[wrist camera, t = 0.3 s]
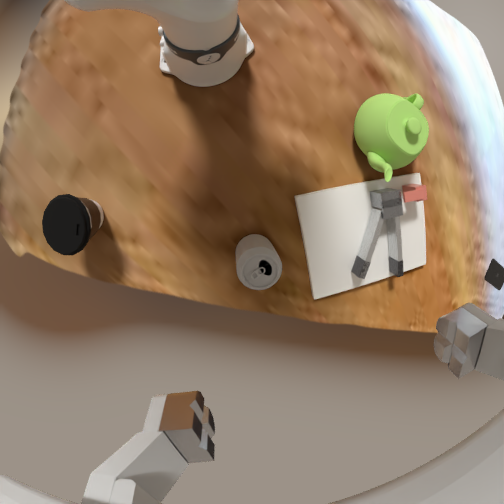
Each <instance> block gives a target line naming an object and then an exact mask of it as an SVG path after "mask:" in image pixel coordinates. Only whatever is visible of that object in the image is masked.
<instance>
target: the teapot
mask: <svg viewBox="0 0 504 504" xmlns="http://www.w3.org/2000/svg"><path fill="white" fill-rule="evenodd" d="M423 103H424V101H423V98H422V97H421V96H420V95H419V94H413V95H411V96H409V97H403V98H402V97H400V96H397V95H394V94H378V95H375V96H373V97H371V98H369V99H367V100H366V101H365V102H364V103H363V104H362V106H361V107H360V109H359V110H358V112H357V115H356V118H355V122H354V136H355V140H356V142H357V145H358V146H359V148H360V149H361V150H362V152H363V153H364V154H365V155H366V156H367V158H368V162H369V164H370V165H371V167H372V168H373V169H375V170H377V171H379V172H384V177H385V181H386V182H389V181H390V180H391V178H392V173H393V170H392V169H399V168H402V167H404V166H406V165H408V164H410V163H411V162H412V161H413V160H414V159H415V158H416V157H417V156H418V155H419V154H420V152H421V151H422V150H423V148H424V146H425V144H426V142H427V138H428V133H429V127H428V122H427V120H426V118H425V116H424V115H423V114H422V112H421V111H420V109H421V108H422V106H423Z"/></svg>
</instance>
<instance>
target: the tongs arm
mask: <svg viewBox="0 0 504 504" xmlns="http://www.w3.org/2000/svg"><path fill="white" fill-rule="evenodd" d="M383 222H384V219H383V214H382V211H381V210H377V209H374V208H372V211H371V215H370V218H369V221H368V225H367V228H366V231H365V234H364V237H363V240H362V243H361V246H360V249H359V252H358V255H357V256H356V259H355V262H354V265H353V268H352V270H351V272H353V273H354V274H355V275H356V276H357V277H358V278H362V279H365V277H366V274H367V271H368V268H369V266H370V263H371V262H370V261H371V258H372V255H373V252H374V250H375V247H376V244H377V241H378V237H379V234H380V231H381V228H382V225H383Z"/></svg>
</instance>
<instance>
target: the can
mask: <svg viewBox="0 0 504 504" xmlns="http://www.w3.org/2000/svg"><path fill="white" fill-rule="evenodd" d="M235 255H236V268H237V275H238V277H239V280H240V281H241V282H242V283H243V284H244V285H245V286H246V287H248V288H250V289H255V290H264V289H267V288H269V287H271V286H272V285H274V284H275V283H276V282H277V281H278V279H279V278H280V276H281V272H282V262H281V260H280V257H279V256H278V254H277V252H276V250H275V249H274V247H273V245H272V244H271V242H270V241H269V240H268V239H267V238H266V237H264V236H262V235H258V234H252V235H248V236H246V237H244V238H243V239H242V240H240V241H239V243H238V245H237V247H236V251H235Z"/></svg>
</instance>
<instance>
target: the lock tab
mask: <svg viewBox="0 0 504 504" xmlns="http://www.w3.org/2000/svg"><path fill="white" fill-rule="evenodd" d="M402 189H403V199H404V202H405V203H406V202H411V201H415V202H419V201H423V200H427V192H426V185H420V184H407V185H402Z"/></svg>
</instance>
